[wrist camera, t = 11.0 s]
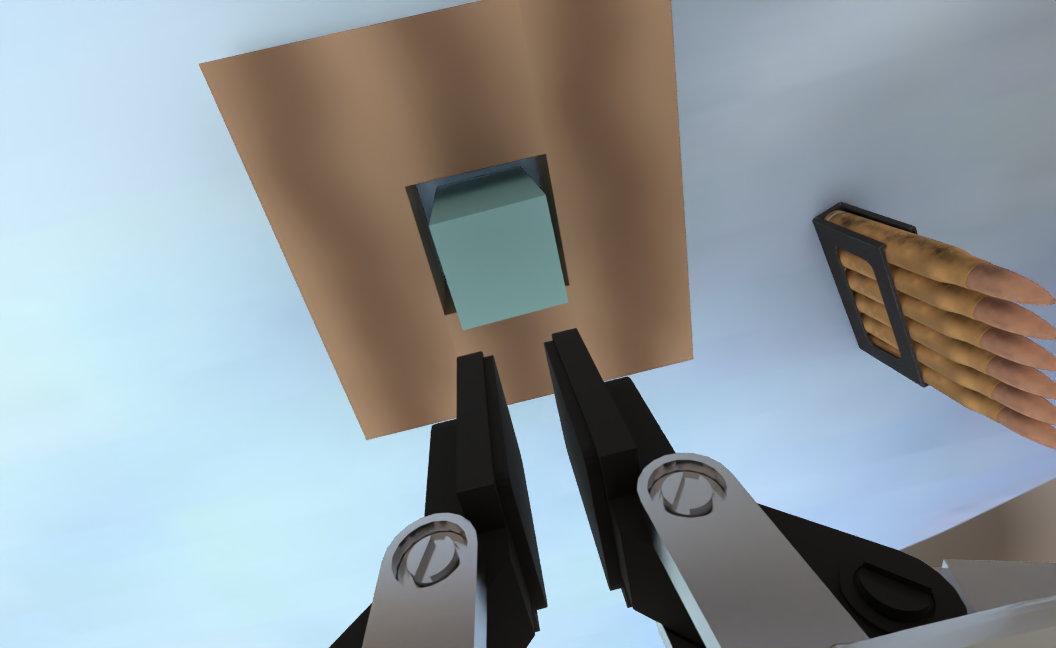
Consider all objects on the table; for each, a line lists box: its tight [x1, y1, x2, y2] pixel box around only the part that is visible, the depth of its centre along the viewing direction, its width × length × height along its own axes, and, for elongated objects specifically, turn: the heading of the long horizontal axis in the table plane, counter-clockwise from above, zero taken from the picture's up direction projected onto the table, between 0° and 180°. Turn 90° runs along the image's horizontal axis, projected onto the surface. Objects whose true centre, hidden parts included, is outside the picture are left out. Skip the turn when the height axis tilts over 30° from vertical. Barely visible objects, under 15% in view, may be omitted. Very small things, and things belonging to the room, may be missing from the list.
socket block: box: [199, 0, 693, 440], centre depth 24 cm, size 18×18×4 cm
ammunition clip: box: [813, 202, 1056, 449], centre depth 25 cm, size 11×2×12 cm, turn 33°
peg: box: [429, 165, 568, 330], centre depth 22 cm, size 4×4×8 cm
